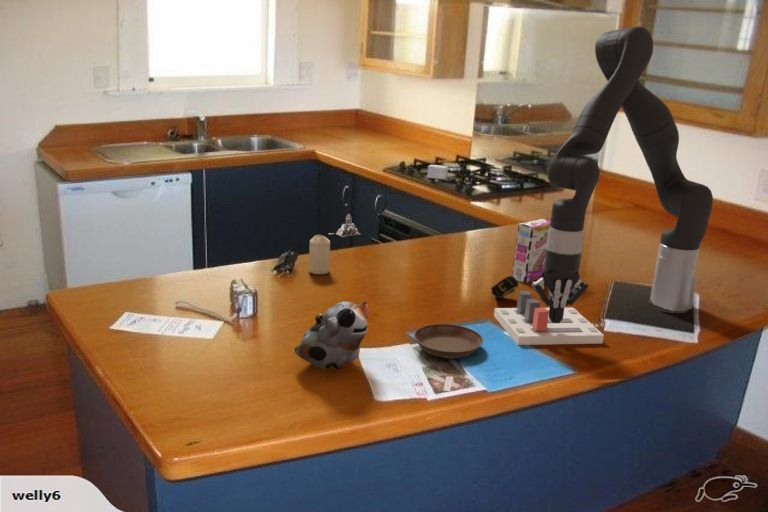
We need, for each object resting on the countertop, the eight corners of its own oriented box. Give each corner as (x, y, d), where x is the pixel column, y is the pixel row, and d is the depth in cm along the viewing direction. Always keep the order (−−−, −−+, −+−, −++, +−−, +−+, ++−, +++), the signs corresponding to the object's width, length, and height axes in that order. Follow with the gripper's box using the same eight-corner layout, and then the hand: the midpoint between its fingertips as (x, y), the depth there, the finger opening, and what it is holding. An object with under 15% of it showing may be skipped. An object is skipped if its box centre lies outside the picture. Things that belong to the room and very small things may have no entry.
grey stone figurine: (350, 230, 250) (351, 208, 247) (365, 237, 243) (366, 214, 241) (327, 233, 245) (328, 210, 242) (341, 240, 238) (342, 216, 236)
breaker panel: (572, 315, 186) (575, 288, 184) (602, 343, 170) (607, 314, 168) (493, 315, 182) (496, 288, 180) (517, 344, 166) (521, 315, 164)
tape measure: (499, 302, 194) (491, 290, 195) (522, 288, 194) (514, 276, 195) (496, 300, 188) (488, 287, 189) (520, 285, 187) (511, 273, 188)
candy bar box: (525, 286, 205) (532, 227, 200) (510, 281, 208) (517, 223, 204) (549, 278, 213) (556, 221, 208) (534, 273, 216) (541, 217, 211)
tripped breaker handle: (542, 326, 171) (544, 307, 169) (546, 330, 169) (548, 311, 167) (532, 326, 170) (534, 307, 169) (536, 330, 168) (538, 311, 167)
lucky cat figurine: (329, 334, 164) (344, 277, 159) (373, 361, 158) (389, 303, 153) (283, 354, 152) (297, 294, 146) (328, 384, 146) (345, 322, 141)
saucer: (412, 360, 156) (413, 348, 155) (413, 332, 170) (414, 321, 169) (484, 365, 156) (486, 353, 155) (479, 337, 170) (480, 326, 169)
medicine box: (446, 186, 327) (448, 166, 324) (444, 188, 323) (446, 167, 320) (428, 184, 329) (430, 164, 326) (426, 185, 325) (428, 165, 322)
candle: (332, 273, 206) (334, 237, 203) (314, 275, 203) (315, 239, 200) (323, 267, 210) (324, 232, 207) (305, 269, 207) (306, 234, 204)
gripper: (585, 242, 169) (576, 315, 174) (529, 243, 167) (521, 316, 172) (600, 252, 162) (589, 327, 167) (541, 253, 160) (532, 329, 165)
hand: (555, 321), depth 169 cm, fingers closed
